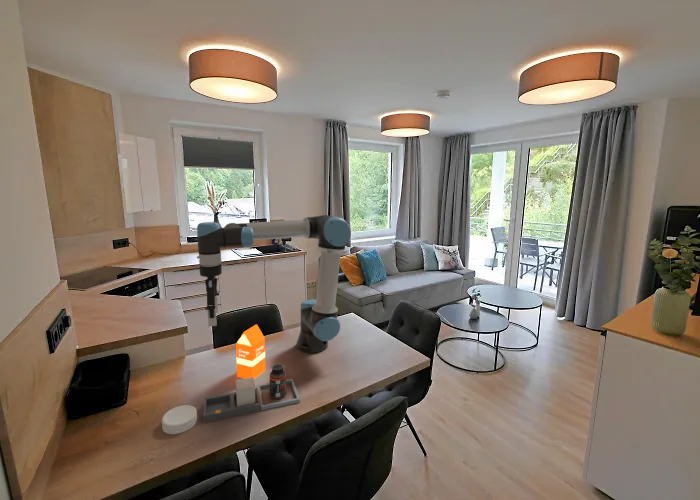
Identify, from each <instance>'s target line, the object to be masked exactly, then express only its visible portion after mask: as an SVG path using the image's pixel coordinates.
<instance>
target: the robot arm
mask: <svg viewBox="0 0 700 500" xmlns="http://www.w3.org/2000/svg"><path fill="white" fill-rule="evenodd" d="M196 235H197V236H196V240H197V249H198V255H197V256H196V259H198V264H199V267H198V268H199V276H201V277H206V278H205V282H204V284H205V291H206V307H205V308H204V310H205V311H207V324H208V327H217V326H218V325H217V324H218V323H217V321H218V320H217V313H219V302H218V301H219V300H218V296H220V292H218V278H217V277H218V276H220V275H221V274H222V273H223V272H222V271H223V270H222V269H223V267H222V264H221V263H222V252H221V249H226V248H246V247H252V246H253V245H254V242H255V241H262V240H263V241H264V240H274V239H275V240H277V239H287V238H288V239H289V238H305V239H316V240H318V246H317V248H318V249H319V250H320V260H319V268H318V269H319V271H318V279H317V288H316V290H317V291H316V299H314V298H313V299H306V300H304V301H302V302H301V303H300V308H299V309H300V332H299V334H298V337H297V341H296V348H297V349H298V350H299V351H300V352H303V353H307V354H314V353H316V354H317V353H321V352H324V351H325V350H326V349H328V345H329V341H331V340H333V339H335V337H337V336H338V334H339V332H340V330H341V323H340V320H339V319H338V312H339V309H338V307H337V306H336V302H337V301H336V299H337V292H338V291H337V290H338V283H339V273H340V263H341V255H342V252H344V251H345V250H346V244H347V243H348V242H349V241H350V239H351V236H352V229H351V226H350V224H349V223H348V222H347V221H346V219H344V218H342V217H339V216H333V215H328V214H325V215H317V216H308V217H307V216H306V217H303V218H302V219H299V220H298V219H296V220H295V219H294V220H277V221H276V220H275V221H262V222H261V221H259V222H246V223H245V222H244V223H243V222H241V223H235V222H229V223H226V225H224V227H220V223H219V222H217V221H215V222H214V221H213V222H212V221H207V222H199V223H198V224H197V227H196Z"/></svg>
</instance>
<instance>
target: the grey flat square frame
mask: <svg viewBox="0 0 700 500" xmlns="http://www.w3.org/2000/svg"><path fill="white" fill-rule="evenodd" d="M287 384H291V387H292V390H293V394H294V396H295V398H292V399H287V400H283V401H277V402H271V403H267V404H264V402H263V397H262V392H261V389H266V388H270V382H267V383H262V384H257V385H256V388H258V394H259V400H260V411H265V410H269V409H273V408H277V407H283V406H284V407H285V406H288V405H293V404H297V403H300V401H301V400H300V395H299V392H298V390H297V388H296V385H295V382H294V380H293V378H290V379H286V385H287Z"/></svg>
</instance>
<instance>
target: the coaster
mask: <svg viewBox="0 0 700 500" xmlns="http://www.w3.org/2000/svg"><path fill="white" fill-rule="evenodd" d="M197 411H198V410H197V409H196V407H194V406H193V405H188V404H187V405H186V404H185V405H178V406H175V407H173V408H171V409H168V410H167V412H165V413H164V415H163V416H162V417H161V418H162V419H161V426H162V427H161V428H162V431H163V432H164V433H165V434H167V435H178V434H182V433H185V432H187V431H189V430H190V429H192V428H193V427H194V426H195V425H196V423H197V421H198V413H197Z"/></svg>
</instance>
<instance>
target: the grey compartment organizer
mask: <svg viewBox="0 0 700 500" xmlns="http://www.w3.org/2000/svg"><path fill="white" fill-rule="evenodd" d="M255 384H256V383H255V379H254V377H250V378H240V379H236V380H235V391H234V392H228V393H222V394H218V395H212V396H206V397H204V401H203V413H202V414H203V415H202V420H203V424H204V423H207V422H214V421H218V420H222V419H226V418H232V417H237V416H242V415H247V414H251V413H256V412H260V411H261V407H260V400H259V394H258V388H257V387H256V385H255Z"/></svg>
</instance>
